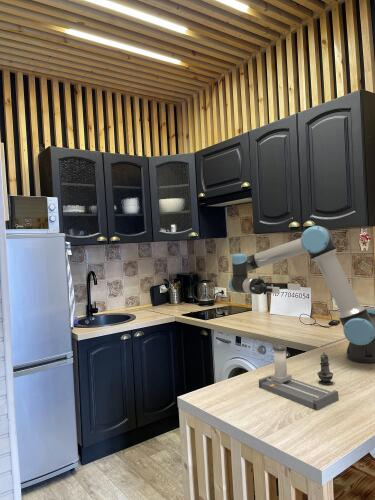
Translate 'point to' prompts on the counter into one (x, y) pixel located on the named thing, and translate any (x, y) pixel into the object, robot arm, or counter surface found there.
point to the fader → (280, 364)
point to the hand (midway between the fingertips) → (289, 288)
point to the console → (300, 392)
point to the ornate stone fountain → (325, 371)
